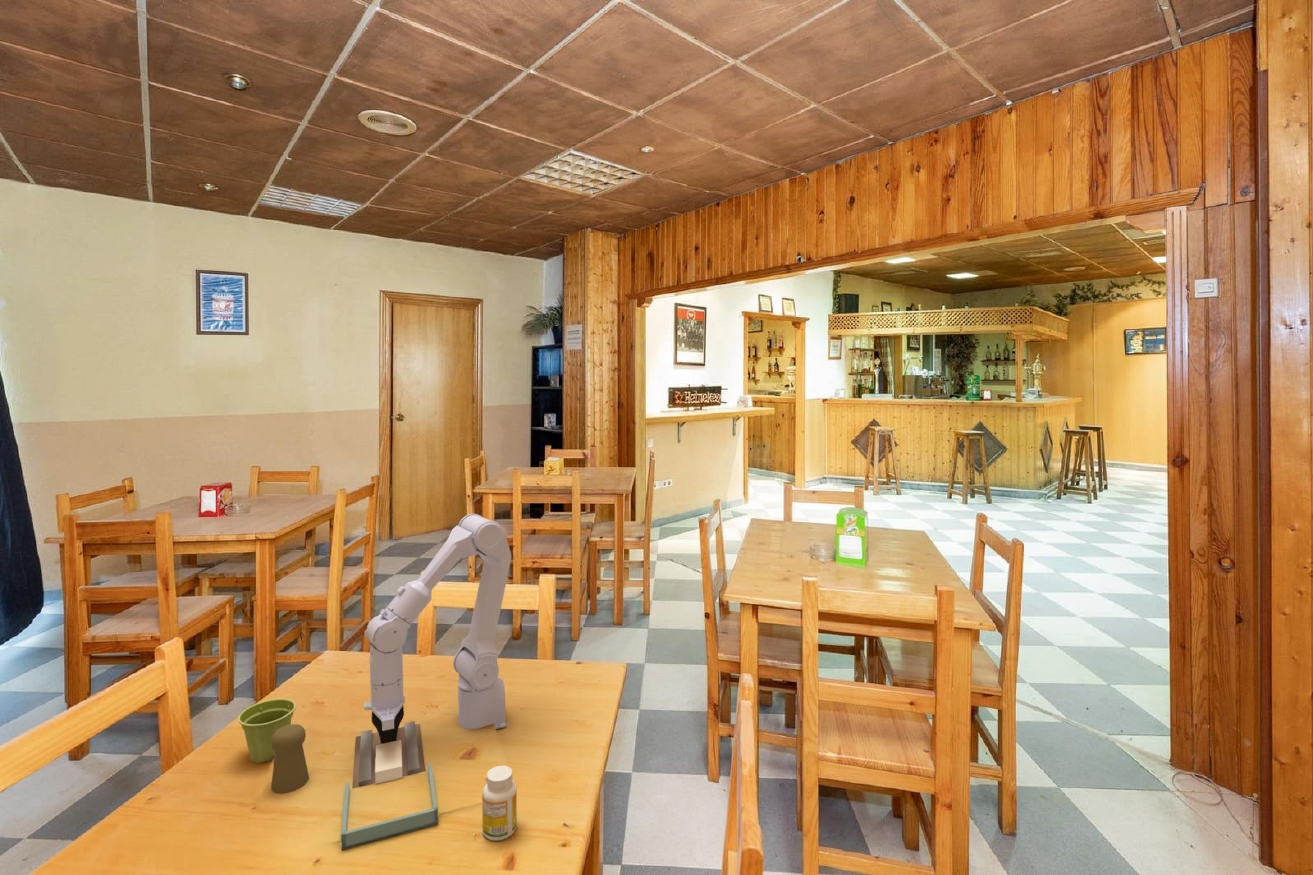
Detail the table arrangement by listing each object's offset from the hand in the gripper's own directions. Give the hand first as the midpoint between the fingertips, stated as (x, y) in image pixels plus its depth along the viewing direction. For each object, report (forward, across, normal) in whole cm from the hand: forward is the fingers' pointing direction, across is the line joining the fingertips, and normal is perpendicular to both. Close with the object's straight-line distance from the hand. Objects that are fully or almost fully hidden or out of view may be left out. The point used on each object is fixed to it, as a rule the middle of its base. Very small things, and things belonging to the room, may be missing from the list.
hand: (388, 746), depth 117 cm
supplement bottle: (+2, +28, +16) cm, 33 cm away
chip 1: (+1, +3, 0) cm, 3 cm away
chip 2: (+1, +8, 0) cm, 8 cm away
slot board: (+2, +1, 0) cm, 2 cm away
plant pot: (+2, -10, -21) cm, 23 cm away
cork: (+2, +3, -16) cm, 16 cm away
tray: (+2, +16, 0) cm, 17 cm away
